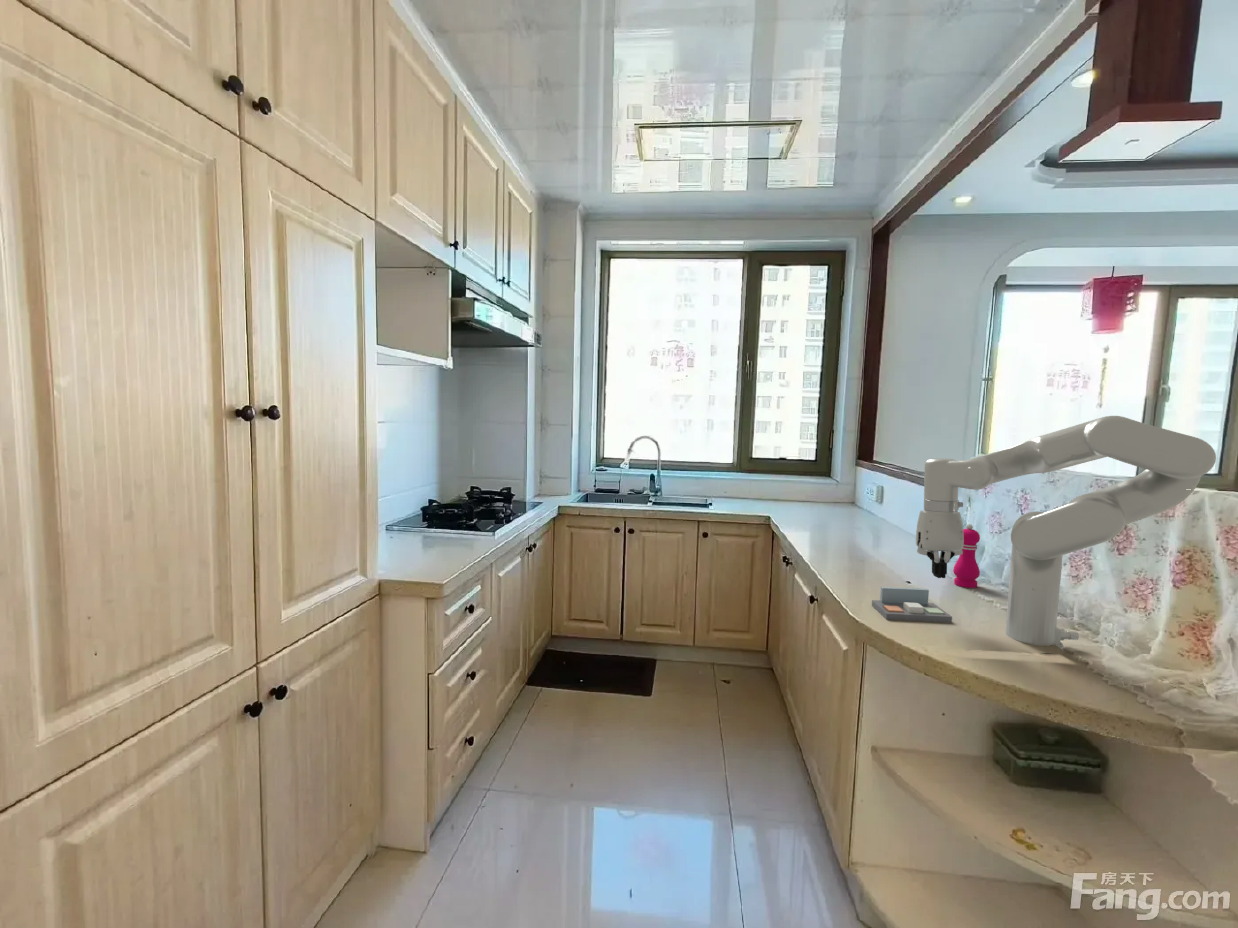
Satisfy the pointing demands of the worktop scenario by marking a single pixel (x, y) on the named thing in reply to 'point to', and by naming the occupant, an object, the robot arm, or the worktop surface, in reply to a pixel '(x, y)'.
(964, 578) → the pepper mill
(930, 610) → the sage key
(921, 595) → the keypad
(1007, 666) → the worktop surface
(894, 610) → the terracotta key
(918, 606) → the white key
